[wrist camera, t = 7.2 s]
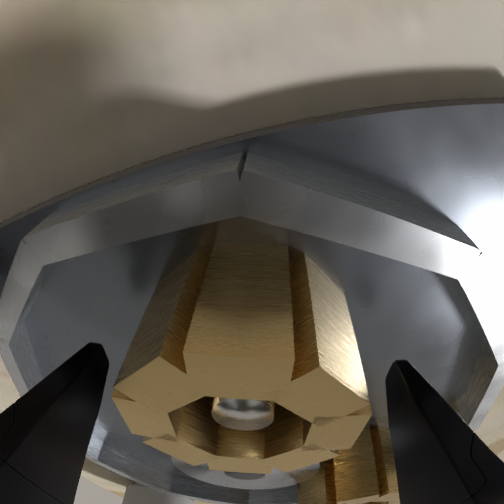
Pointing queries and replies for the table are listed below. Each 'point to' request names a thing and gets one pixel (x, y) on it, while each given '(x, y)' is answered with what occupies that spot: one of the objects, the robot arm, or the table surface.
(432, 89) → the table surface
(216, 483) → the domed metal knob cap
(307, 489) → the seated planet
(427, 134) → the tray
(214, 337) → the hollow octagonal wooden tube
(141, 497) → the can
